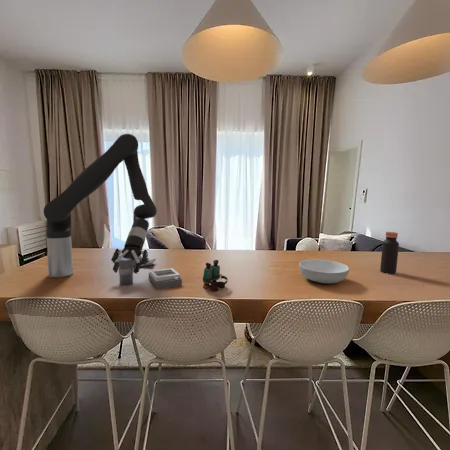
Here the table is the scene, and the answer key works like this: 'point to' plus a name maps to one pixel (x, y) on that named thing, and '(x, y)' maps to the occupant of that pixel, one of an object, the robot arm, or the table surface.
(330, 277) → the serving bowl
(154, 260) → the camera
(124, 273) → the lens
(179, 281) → the plate
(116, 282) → the table surface
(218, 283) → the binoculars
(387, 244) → the bottle
